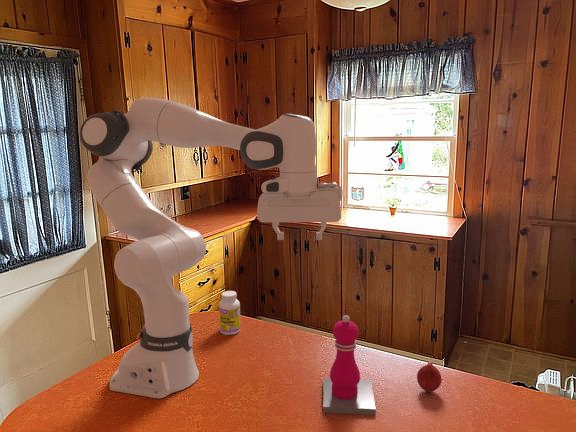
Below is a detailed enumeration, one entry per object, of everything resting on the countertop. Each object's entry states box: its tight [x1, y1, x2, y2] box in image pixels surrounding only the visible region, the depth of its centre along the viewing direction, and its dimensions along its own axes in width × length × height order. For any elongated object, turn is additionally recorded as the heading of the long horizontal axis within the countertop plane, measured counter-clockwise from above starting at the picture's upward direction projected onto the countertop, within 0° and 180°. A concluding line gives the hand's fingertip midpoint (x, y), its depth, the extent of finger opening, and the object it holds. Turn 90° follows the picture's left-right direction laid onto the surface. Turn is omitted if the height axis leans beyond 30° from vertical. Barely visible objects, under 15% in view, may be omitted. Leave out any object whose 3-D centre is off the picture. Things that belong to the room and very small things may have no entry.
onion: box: [416, 361, 442, 393], centre depth 113 cm, size 6×6×8 cm
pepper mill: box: [329, 314, 361, 400], centre depth 109 cm, size 7×7×20 cm
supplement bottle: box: [218, 290, 241, 336], centre depth 146 cm, size 7×7×13 cm
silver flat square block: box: [322, 377, 377, 416], centre depth 111 cm, size 12×12×2 cm
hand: (299, 239), depth 112 cm, fingers open, 8 cm apart
